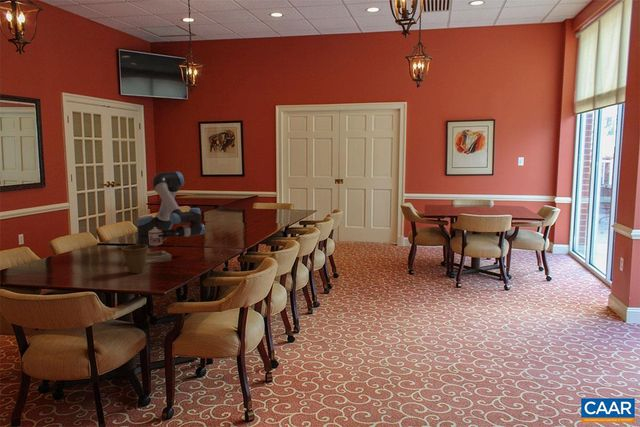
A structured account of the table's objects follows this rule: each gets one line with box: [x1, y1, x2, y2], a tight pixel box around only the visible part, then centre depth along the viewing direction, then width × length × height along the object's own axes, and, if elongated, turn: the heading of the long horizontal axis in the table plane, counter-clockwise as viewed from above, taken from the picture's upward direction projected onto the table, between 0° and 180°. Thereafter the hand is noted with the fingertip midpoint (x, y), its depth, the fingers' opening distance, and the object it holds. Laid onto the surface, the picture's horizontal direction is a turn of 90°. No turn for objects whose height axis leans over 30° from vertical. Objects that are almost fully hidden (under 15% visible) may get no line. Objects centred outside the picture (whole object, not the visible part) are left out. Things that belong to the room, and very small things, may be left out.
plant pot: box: [121, 244, 149, 274], centre depth 305 cm, size 15×15×16 cm
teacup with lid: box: [148, 227, 167, 246], centre depth 336 cm, size 12×9×12 cm
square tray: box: [145, 250, 173, 265], centre depth 337 cm, size 17×20×4 cm
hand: (150, 235), depth 333 cm, fingers closed on teacup with lid, 9 cm apart
